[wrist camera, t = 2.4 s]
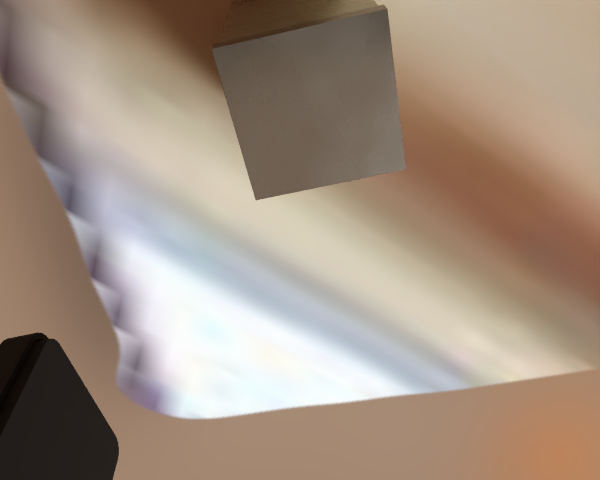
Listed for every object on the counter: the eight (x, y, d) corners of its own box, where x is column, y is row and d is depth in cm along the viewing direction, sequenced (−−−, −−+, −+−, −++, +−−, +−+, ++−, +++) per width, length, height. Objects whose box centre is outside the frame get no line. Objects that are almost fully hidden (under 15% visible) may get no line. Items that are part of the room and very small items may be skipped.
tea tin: (228, 2, 22) (211, 48, 16) (356, -28, 22) (387, 8, 16) (260, 122, 25) (255, 200, 19) (373, 98, 25) (406, 169, 19)
